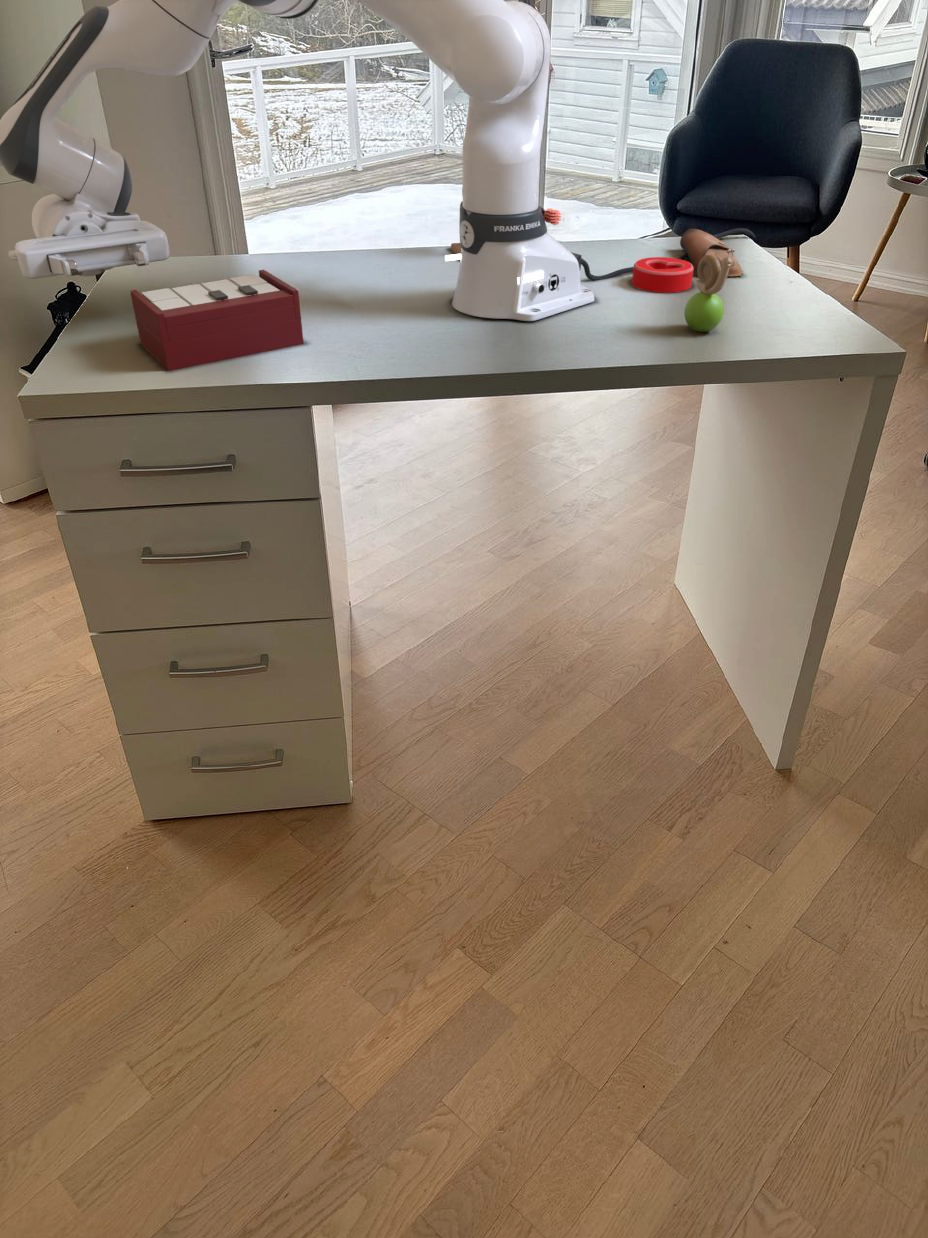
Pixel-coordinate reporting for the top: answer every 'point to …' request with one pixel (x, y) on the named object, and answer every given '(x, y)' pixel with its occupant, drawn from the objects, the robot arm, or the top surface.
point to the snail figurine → (708, 294)
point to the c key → (247, 280)
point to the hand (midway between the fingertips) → (108, 264)
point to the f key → (159, 295)
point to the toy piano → (219, 321)
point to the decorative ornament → (662, 274)
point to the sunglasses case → (707, 249)
